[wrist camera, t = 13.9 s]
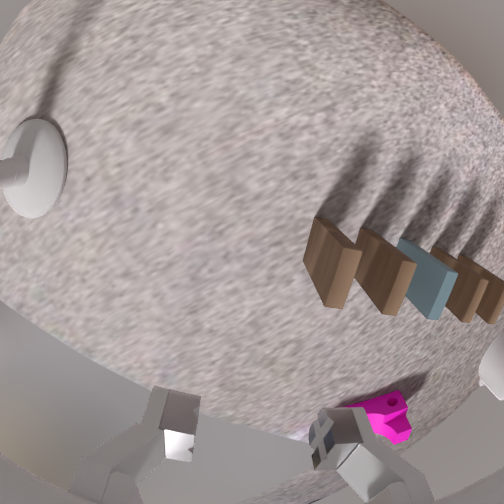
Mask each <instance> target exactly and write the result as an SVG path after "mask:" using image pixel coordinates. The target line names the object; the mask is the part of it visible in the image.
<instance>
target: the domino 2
mask: <svg viewBox="0 0 504 504" xmlns="http://www.w3.org/2000/svg"><path fill="white" fill-rule="evenodd" d="M355 245H356V246H357V247H358V248H359V249H360V250H361V251H362V255H361V258H360V261H359V264H358V267H357V270H356V273H355V276H354V278H355V279H356V280H357V282H358V283H359V284H360V286H361V287H362V288H363V290H364V291H365V292H366V293H367V295H368V296H369V297H370V299H371V300H372V301H373V303H374V304H375V305H376V307H377V308H378V310H379V311H380V312H381V314H385V315H394V316H396V315H397V313H398V311H399V308H400V306H401V304H402V301H403V299H404V297H405V294H406V292H407V289H408V287H409V284H410V282H411V279H412V277H413V274H414V271H415V269H416V266H417V263H416V262H414V261H413V260H412V259H410V258H409V257H408V256H407V255H405V254H404V253H403V252H401V251H400V250H399V249H397V248H396V247H394V246H393V245H392V244H390V243H389V242H388V241H386V240H385V239H383V238H382V237H381V236H379V235H378V234H376V233H375V232H374V231H372V230H368V229H364V228H360V231H359V234H358V238H357V241H356V244H355Z"/></svg>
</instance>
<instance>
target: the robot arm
mask: <svg viewBox="0 0 504 504" xmlns="http://www.w3.org/2000/svg"><path fill="white" fill-rule="evenodd" d="M479 375H480V381H479V385H480V386H483V385H486V386H487V387H488V388H489V389H490V391H491V392H492V393H493V394H494V395H495V396H496V397H497V398H498V399H499V400H504V330H503V331H502V332H501V333H500V334H499V335H498V336H497V337H496V338H495V340H494V341H493V342H492V344H491V345H490V346H489V348H488V349H487V351H486V353H485V354H484V356H483V358H482V361H481V363H480V366H479ZM200 400H201V396H197V395H193V394H188V393H183V392H179V391H175V390H171V389H166V388H162V387H158V386H154V388H153V389H152V392H151V395H150V398H149V401H148V404H147V407H146V410H145V413H144V416H143V419H142V422H141V424H138V423H136V424H134V425H132V426H131V427H129V428H128V429H126V430H125V431H123V432H122V433H120V434H118V435H117V436H115V437H114V438H112V439H111V440H109V441H107V442H106V443H104V444H102V445H101V446H99V447H98V448H96V449H94V450H93V451H91V452H89V453H88V454H86V455H84V456H82V457H81V460H80V462H79V465H78V467H77V469H76V472H75V475H74V477H73V480H72V482H71V485H70V487H69V490H68V492H67V491H65V490H63V489H61V488H59V487H57V486H55V485H53V484H51V483H49V482H47V481H45V480H43V479H41V478H40V477H38V476H36V475H34V474H32V473H31V472H29V471H27V470H26V469H24V468H22V467H20V466H19V465H17V464H16V463H14V462H13V461H11V460H10V459H8V458H7V457H5V456H4V455H2V454H1V453H0V504H143V502H142V499H141V497H140V494H139V491H138V488H137V486H136V485H137V484H138V483H139V482H140V481H142V480H143V479H144V478H145V477H146V476H147V475H148V474H150V473H151V471H153V470H154V469H155V468H156V467H157V466H158V465H160V464H161V462H163V461H164V460H165V458H169V459H174V460H180V461H186V462H192V456H193V450H194V443H195V436H196V429H197V423H198V416H199V408H200ZM309 445H310V446H311V447H312V448H313V449H314V450H315V451H314V452H313V454H312V461H313V467H314V470H335V469H337V470H336V471H337V472H338V473H339V474H340V475H341V476H342V477H343V479H344V480H345V481H346V482H347V483H348V484H349V485H350V486H351V487H352V488H353V490H354V491H355V492H356V493H357V494H358V495H359V496H360V497H361V498H362V499H363V500H364V501H365V502H366V503H365V504H504V466H503V467H501V468H500V469H498V470H496V471H495V472H493V473H491V474H489V475H488V476H486V477H485V478H483V479H480V480H479V481H477V482H475V483H473V484H471V485H469V486H467V487H465V488H463V489H461V490H459V491H457V492H455V493H452V494H450V495H448V496H446V497H443V498H441V499H439V500H436V501H435V500H434V498H433V495H432V493H431V490H430V488H429V485H428V483H427V480H426V478H425V476H424V474H423V473H422V472H420V471H419V470H418V469H416V468H415V467H413V466H412V465H411V464H409V463H408V462H407V461H406V460H404V459H403V458H402V457H400V456H399V455H398V454H397V453H395V452H394V451H393V450H391V449H390V448H389V447H388V446H386V445H385V444H384V443H382V442H381V441H377V440H376V437H375V434H374V432H373V429H372V427H371V424H370V421H369V419H368V416H367V414H366V411H365V409H364V408H363V407H350V408H348V407H340V408H322V409H320V411H319V412H318V419H317V420H315V421H313V423H312V425H311V427H310V430H309Z"/></svg>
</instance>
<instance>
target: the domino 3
mask: <svg viewBox="0 0 504 504" xmlns="http://www.w3.org/2000/svg"><path fill="white" fill-rule="evenodd" d="M397 249H399V250H400V251H401V252H403V253H404V254H405V255H407V256H408V257H409V258H410V259H412V260H413V261H414V262H416V263H417V266H416V269H415V271H414V274H413V277H412V279H411V282H410V284H409V287H408V289H407V292H406V294H405V296H406V297H407V298H408V299H409V300H410V301H411V302H412V303H413V304H414V305H415V307H416V308H417V309H418V310H419V311H420V312H421V313H422V314H423V315H424V316H425V317H426V318H427V319H431V320H438V319H439V317H440V315H441V313H442V311H443V309H444V307H445V304H446V302H447V300H448V298H449V295H450V293H451V291H452V288H453V286H454V283H455V281H456V278H457V276H458V273H457V272H456V271H454V270H453V269H451V268H450V267H449V266H447V265H446V264H444V263H443V262H441V261H440V260H438V259H437V258H435V257H434V256H433V255H431V254H430V253H428V252H427V251H425V250H424V249H422V248H421V247H419V246H417V245H416V244H414V243H413V242H411V241H409V240H406V239H402V238H400V239H399V242H398V245H397Z"/></svg>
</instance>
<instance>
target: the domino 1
mask: <svg viewBox="0 0 504 504" xmlns="http://www.w3.org/2000/svg"><path fill="white" fill-rule="evenodd" d="M361 255H362V251H361V250H360V249H359V248H358V247H357V246H356V245H355V244H354V243H353V242H352V241H351V240H350V239H349V238H348V237H346V236H345V235H344V234H343V233H342V232H341V231H340V230H339V229H338V228H337V227H335V226H334V225H333V224H332V223H331V222H330V221H329V220H326V219H321V218H317V217H314V220H313V224H312V228H311V232H310V236H309V240H308V243H307V247H306V251H305V254H304V258H303V262H304V264H305V266H306V268H307V270H308V273H309V275H310V277H311V279H312V281H313V283H314V285H315V287H316V289H317V292H318V294H319V296H320V298H321V300H322V302H323V305H324V307H330V308H338V309H343V306H344V304H345V301H346V298H347V296H348V293H349V290H350V287H351V284H352V282H353V279H354V276H355V273H356V270H357V267H358V264H359V261H360V258H361Z"/></svg>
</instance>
